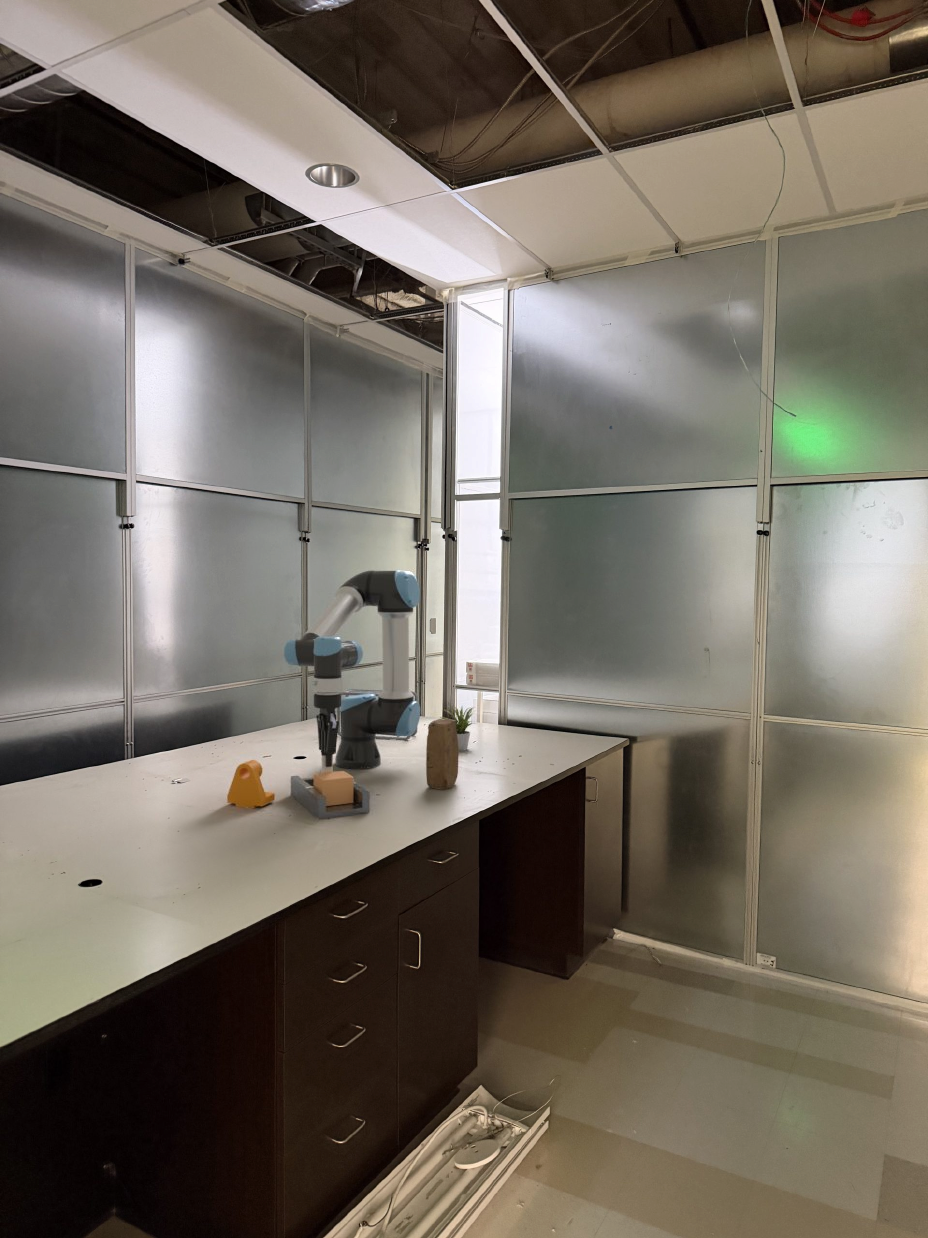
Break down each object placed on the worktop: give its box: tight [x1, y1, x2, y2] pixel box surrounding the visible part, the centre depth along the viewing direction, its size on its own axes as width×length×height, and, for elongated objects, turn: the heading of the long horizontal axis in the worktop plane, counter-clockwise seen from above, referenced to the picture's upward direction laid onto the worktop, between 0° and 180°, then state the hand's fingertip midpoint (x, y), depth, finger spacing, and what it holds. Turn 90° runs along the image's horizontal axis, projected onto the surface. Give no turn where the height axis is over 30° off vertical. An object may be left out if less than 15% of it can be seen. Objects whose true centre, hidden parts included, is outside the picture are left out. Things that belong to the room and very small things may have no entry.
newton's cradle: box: [336, 688, 419, 741], centre depth 323 cm, size 30×10×18 cm, turn 77°
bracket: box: [226, 759, 276, 809], centre depth 225 cm, size 11×7×12 cm, turn 73°
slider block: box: [313, 770, 354, 806], centre depth 223 cm, size 8×9×7 cm
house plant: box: [439, 706, 477, 752], centre depth 301 cm, size 14×14×16 cm
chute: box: [290, 771, 371, 820], centre depth 226 cm, size 26×14×6 cm, turn 28°
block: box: [425, 718, 459, 790], centre depth 246 cm, size 11×8×20 cm
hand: (327, 777), depth 227 cm, fingers closed
